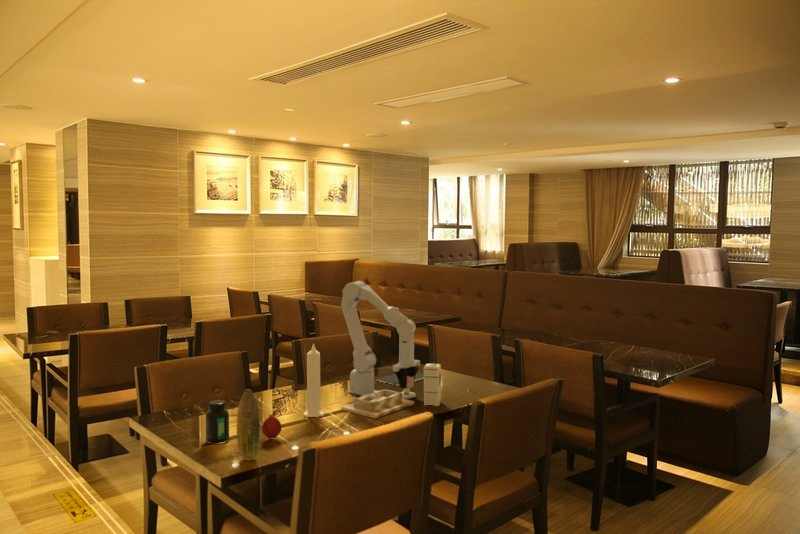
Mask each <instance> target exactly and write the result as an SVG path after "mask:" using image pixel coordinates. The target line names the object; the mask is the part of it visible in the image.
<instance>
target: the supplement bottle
mask: <svg viewBox="0 0 800 534" xmlns="http://www.w3.org/2000/svg"><path fill="white" fill-rule="evenodd" d="M207 408H208V410H207V412H205V417H204V419H205V442H206V441H207V442H211V443H219V442H224V441H226V440H228V439H229V440H230V413H229V411H228V409H226V400H223V399H216V400H215V399H213V400H211V401H208V407H207ZM229 440H228V441H229ZM207 442H206V443H207Z"/></svg>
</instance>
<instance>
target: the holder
mask: <svg viewBox="0 0 800 534" xmlns="http://www.w3.org/2000/svg"><path fill="white" fill-rule="evenodd" d="M376 391H377V392H374V393H371V394H367V395H364V396H362V395H360V396H358V397H356V398H353V402H352V403H349V404H346V405H343V406H341V407H340V409H342V410H341V411H345V412H350V413H352V412H353V414H357V415H360V416H363V417H369V418H373V419H377V418H381V417H383V416H386V415H388V414H391V413H393V412H396V411H400V410H402V409H404V408H408V407H409V406H413V405H415V401H414V400H412V399H408V400H407V399H403V398H402V393H400V392H401V391H400V392H399V391H396V390H390V389H386V388H384V389H380V390H376Z"/></svg>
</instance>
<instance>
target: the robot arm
mask: <svg viewBox="0 0 800 534" xmlns="http://www.w3.org/2000/svg"><path fill="white" fill-rule="evenodd" d="M341 291H342V297H341V303H340V306H341V310H342V314H343V317H344V320H345V323H346V327H347V330H348V333H349V336H350V339H351V342H352V343H351V344H352V347H353V352H352V357H353V361H352V362H353V367H354V369H352V370H351V371H350V373H349V374H350V375H349V390H348V393H350V394H353V395H357V396H364V395H367V394H371V393H374V392H377V391H378V390H375V367H374V366H375V365H376V363H377V357H376V354H375V353H373V351H372V347H370V346H369V345H368V342H367V339H366V337H365V332H364V329H363V328H362V323H361V321H360V317H359V313H358V311H357V305H358V303H359V301H360V300H364V301H368V302H370V304H372V305H373V306H374V307H375V308H377V309H378V310H379V311H380V312H381V313H382V314H383V318H384V319H385V320H386V321H387V322H388V323H389V324H390V325H391V326H392V327H394V328H395V329H396V333H398V334H397V335H399V337H398V339H399V341H398V343H399V344H398V351H399V352H398V363H396V364H394V365H392V371H393V372H394V374H396V376H397V378H398V381H399V385H400V387H399V388H400V389H403V388H405V387H406V379H407V375H409V376H414V378H415V375H416V373H417V372H419V366H420V365H421V360H420V359H415V331H416V330H417V329H416V328H417V325H416V322H414V320H413V319H410V318H409V317H408V316H405V315H404V314H403V313H402V312H400V309H399V308H398V307H395V306H390V305H388V304H387V303H386V302H385V301H384V300H383V299H382V298H381V297H380V296H379V295H378V294H377V293H376V292H375V291H374V290H373V289H372V287H371V286H370V285H368V284H367V283H366V282H365V281H362V280H356V281H353V282H348V283H347V284H346V285H345V286H344V287H343V289H342V290H341Z"/></svg>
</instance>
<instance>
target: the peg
mask: <svg viewBox="0 0 800 534" xmlns="http://www.w3.org/2000/svg"><path fill="white" fill-rule="evenodd" d="M414 386H415V382H414V376H409V375H407V379H406V387H405V388H402V389H403V390H402V391H400V393H402V399H406V400H412V399H413V398H416V392H413V391H410V388H414ZM398 387H399V388H400V385H399V386H398Z"/></svg>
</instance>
